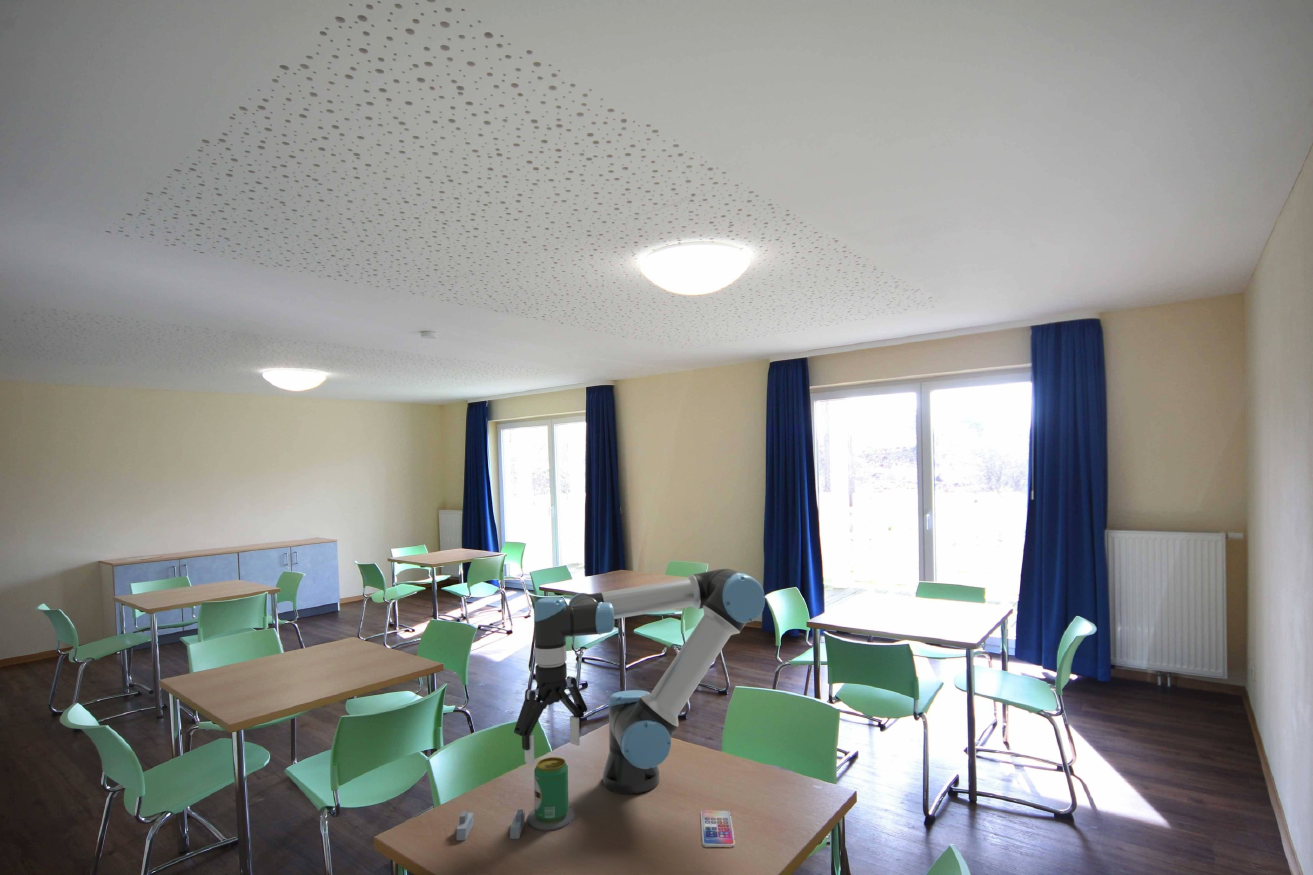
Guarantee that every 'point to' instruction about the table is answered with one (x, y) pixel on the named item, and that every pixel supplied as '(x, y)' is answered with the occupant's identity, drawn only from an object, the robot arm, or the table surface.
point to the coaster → (550, 826)
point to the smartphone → (716, 829)
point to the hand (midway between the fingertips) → (553, 753)
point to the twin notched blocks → (468, 822)
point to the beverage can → (551, 789)
